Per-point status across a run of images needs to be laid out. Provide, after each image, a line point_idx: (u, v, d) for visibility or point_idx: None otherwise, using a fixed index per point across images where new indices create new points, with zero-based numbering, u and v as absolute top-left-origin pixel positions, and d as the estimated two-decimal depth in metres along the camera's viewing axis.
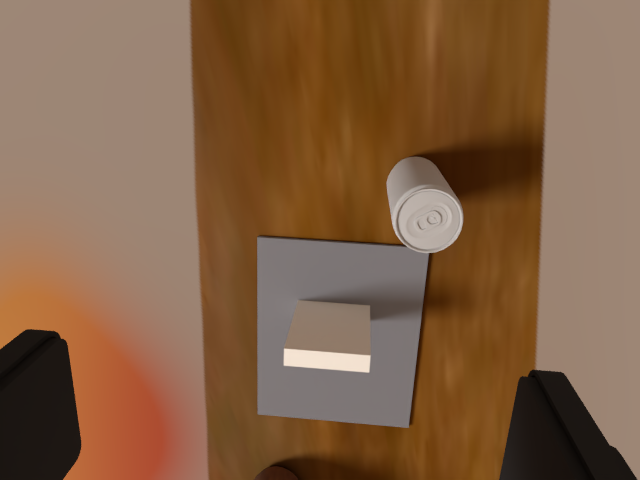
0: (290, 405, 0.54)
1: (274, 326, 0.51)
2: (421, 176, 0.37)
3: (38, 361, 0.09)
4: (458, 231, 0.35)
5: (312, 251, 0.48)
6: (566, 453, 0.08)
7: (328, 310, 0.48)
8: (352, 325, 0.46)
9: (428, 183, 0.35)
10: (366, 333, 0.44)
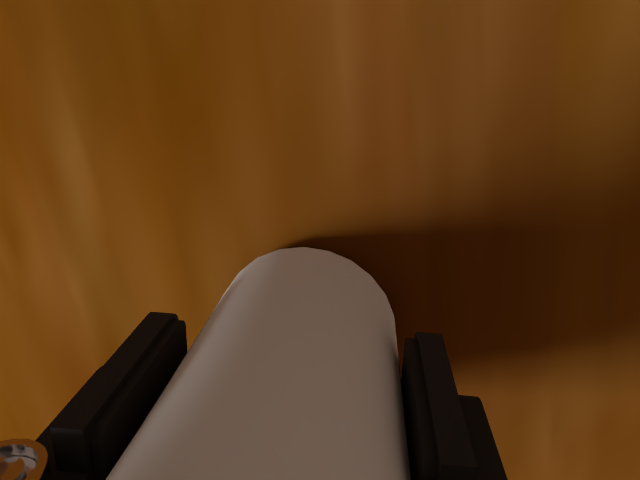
0: None
1: None
2: None
3: (170, 339, 0.10)
4: None
5: None
6: (418, 396, 0.09)
7: None
8: None
9: None
10: None
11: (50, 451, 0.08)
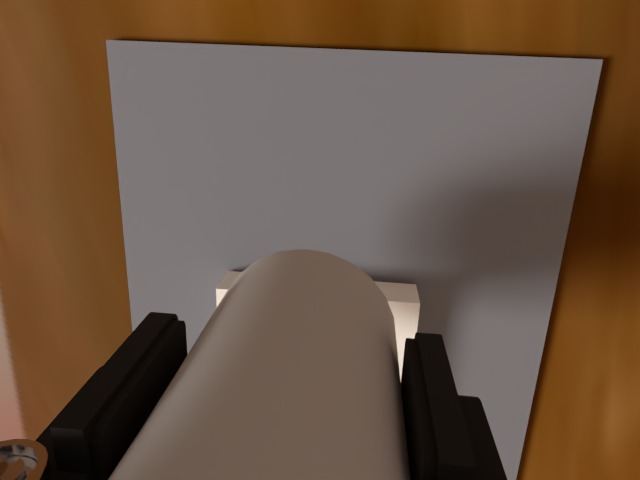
0: None
1: (172, 296, 0.20)
2: None
3: (170, 339, 0.10)
4: None
5: (261, 79, 0.17)
6: (418, 396, 0.09)
7: None
8: None
9: None
10: None
11: (50, 451, 0.08)
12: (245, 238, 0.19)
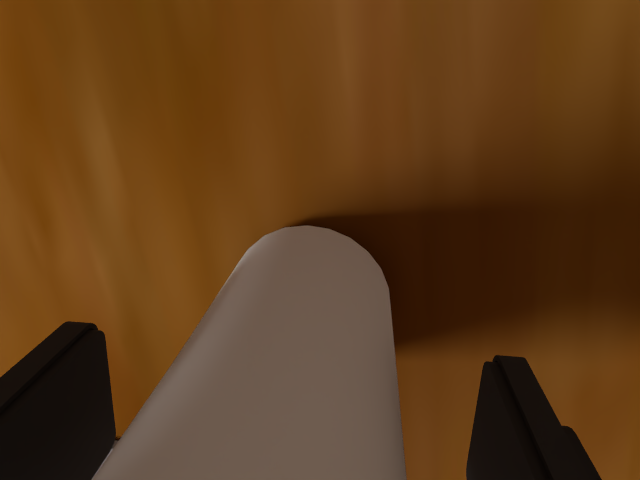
0: None
1: None
2: (210, 417, 0.07)
3: (80, 351, 0.10)
4: None
5: None
6: (519, 430, 0.08)
7: None
8: None
9: None
10: None
11: None
12: None
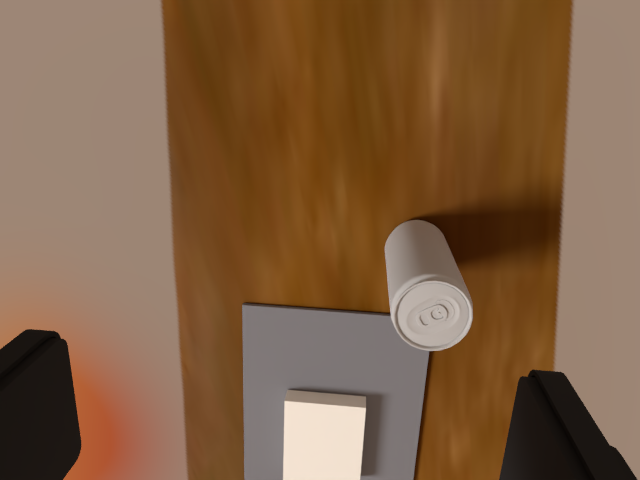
0: None
1: (262, 398, 0.46)
2: (424, 258, 0.32)
3: (38, 361, 0.09)
4: (467, 327, 0.30)
5: (303, 320, 0.44)
6: (566, 453, 0.08)
7: (319, 420, 0.45)
8: (344, 447, 0.45)
9: (432, 271, 0.30)
10: (358, 459, 0.46)
11: None
12: (295, 377, 0.45)
